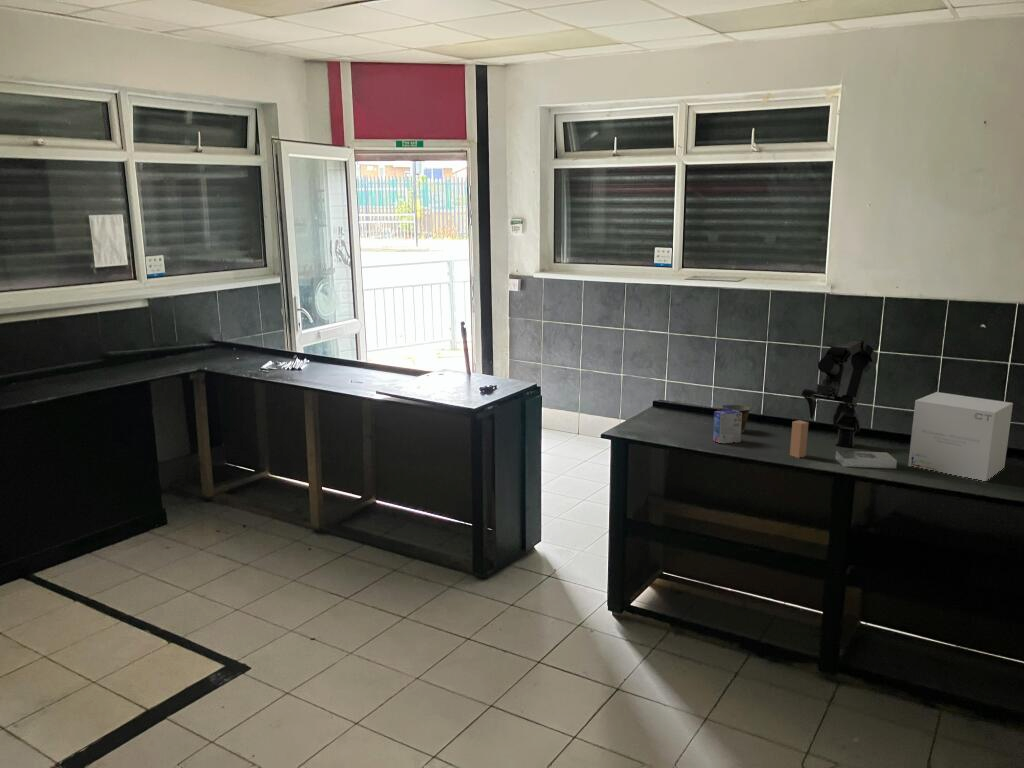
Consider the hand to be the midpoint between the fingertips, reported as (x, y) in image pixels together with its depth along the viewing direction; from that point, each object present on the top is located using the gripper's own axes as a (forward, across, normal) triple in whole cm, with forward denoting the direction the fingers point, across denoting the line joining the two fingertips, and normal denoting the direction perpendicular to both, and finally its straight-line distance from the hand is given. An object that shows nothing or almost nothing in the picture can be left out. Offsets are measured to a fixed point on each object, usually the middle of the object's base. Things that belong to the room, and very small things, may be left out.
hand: (823, 420), depth 293 cm
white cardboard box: (+5, +40, +26) cm, 48 cm away
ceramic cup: (+9, -42, +17) cm, 47 cm away
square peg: (+15, -7, +2) cm, 16 cm away
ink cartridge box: (+15, -36, +1) cm, 39 cm away
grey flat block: (+12, +15, +9) cm, 21 cm away
